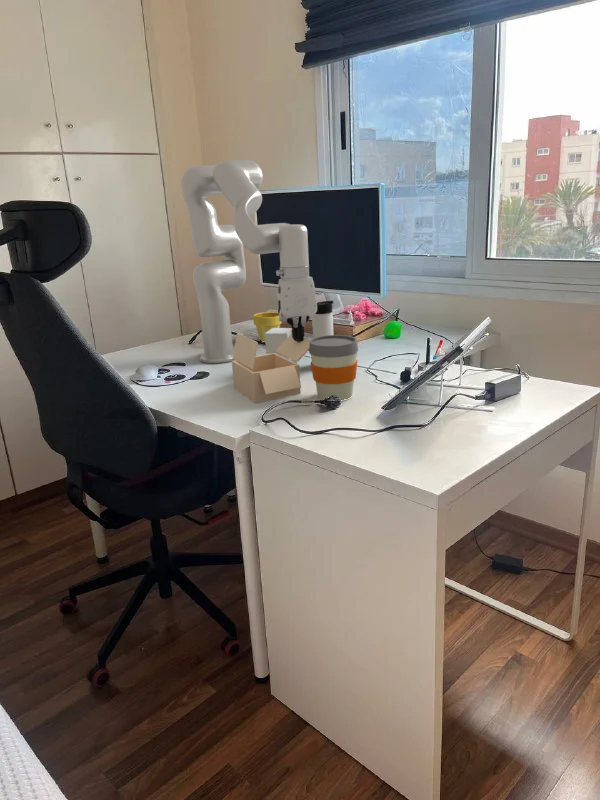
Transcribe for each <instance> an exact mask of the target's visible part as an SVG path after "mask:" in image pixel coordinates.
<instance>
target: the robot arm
mask: <svg viewBox="0 0 600 800" xmlns="http://www.w3.org/2000/svg"><path fill="white" fill-rule="evenodd" d="M263 179H264V176H263V171H262V169H261V167H260V166H259V164H258V163H256V162H255V161H253V160H251V159H243V160H242V159H230V160H229V159H227V160H224V161H221V162H218V163H217V164H214V165H212V164H211V165H210V164H209V165H208V164H207V165H204V164H203V165H194V166H191V167H189V168H187V169H186V170H185V171H184V172H183V173H182V177H181V180H180V181H181V183H180V187H181V188H180V189H181V194H182V197H183V201H184V203H185V206H186V208H187V212H188V216H189V226H190V232H191V239H192V245H193V250H194V252H195V255H196V256H198V257H200V258H215V257H223V258H224V259H221V260H212V261H206V262H202V263H199V264H198V265H197V266H195V267H194V268H193V272H192V281H193V285H194V288H195V293H196V295H197V300H198V301H197V302H198V307H199V315H200V323H201V334H202V342H203V343H202V344H203V354H201V355H200V356H199V358H200V359H199V360H200V362H202V363H205V364H223V363H229V362H232V361H233V360H236V359H234V358H233V355H234V346H233V335H232V324H231V314H230V304H229V302H228V300H227V299H226V298H225V296H224V295H223V293H222V292H224V291H228V290H230V291H231V290H234V289H239V288H242V287H243V286H244V285H245V284H246V280H247V267H246V259H245V252H244V250H245V249H244V247H245V248H246V249H247V250H248V251H249V252H250V253H252V254H254V255H266V254H273V253H274V254H275V253H279V262H280V267H279V269H278V270H276V271H275V273H276V274H275V275H276V276H278V277H280V279H278V285H277V293H276V295H277V298H276V299H277V302H276V304H277V313H278V314H279V321H281V322H282V323H287V324H288V325H289V326H290V327H291V328H292V338H293V340H295V341H297V342H300V341H303V340H304V339H303V338H305V326H306V324H307V322H308V321H309V320H310V319H311V320H312V318H313V317H315V316H316V314H315V313H316V312H317V303H318V302H317V294H316V288H315V287H316V286H315V281H314V280H313V276H310V264H309V260H310V259H309V242H308V239H309V238H308V229H307V228H308V227H307V226H306V225H304V224H298V223H297V224H291V223H287V222H279V223H278V222H277V223H265V224H256V223H255V222H254V221H253V220H252V218H251V216H252V215H254V214H255V213H256V212H257V211H258V210H259V208H261V205H262V202H263V196H262V193H261V192H260V190H259V189H260V188H261V186H262V184H263V182H264V181H263ZM222 195H223V196H224V197H225V198H226V200H227V201H228V202H229V204H230V206H232V208H233V209H234V214H233V224H219V221H218V215H217V209H216V208H215V206H214V205H213V203H212V201H211V200H210V199H209V198H208V196H222Z"/></svg>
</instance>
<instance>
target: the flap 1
mask: <svg viewBox="0 0 600 800" xmlns="http://www.w3.org/2000/svg"><path fill="white" fill-rule="evenodd" d="M258 344H259V342H258V341H256V340H254V339H252V338H250V337H248V336H245V335H244V334H242V333H239V332H236V338H235V342H234V348H233V351H234V355H233V358H234V359H235V360H237V361H239V362H241V363H243V364H244V365H246V366H248V367H249V368H251V369H254V363H255V357H256V356H257V350H258Z"/></svg>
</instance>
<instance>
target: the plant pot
mask: <svg viewBox="0 0 600 800" xmlns="http://www.w3.org/2000/svg"><path fill="white" fill-rule="evenodd" d="M252 316H253V319H252V320H253V325H254V326H255V328H256V331H257V335H258V340H259V341H260V340H261V341H265V334H264V333H266V332H267V331H269V330H271V329H272V328H281V324H282V323H283V322H281V321H279V314H278V311H277V312H276V311H265V312H259V313H255V314H253V315H252Z"/></svg>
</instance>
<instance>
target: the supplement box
mask: <svg viewBox="0 0 600 800" xmlns="http://www.w3.org/2000/svg"><path fill="white" fill-rule="evenodd" d="M264 334H265V354H273V353H276V354H278V355H280V356H282V357H284V358H286V359H288V360H290V361H292V362H294V363H296V364H298V362H297V361H295V360H293V359H291V358H289V357H287V356H285V355H282V354H280V353H278V352H276V351H275V350H276V349H277V348H278V347H279V346H280V345H281V344H282V343H283V342H284V341H285V340H286V339H287V338H288V337H289V336H290V335H291V334H292V327H280V328H272V329H271V330H269V331H267V332H266V333H264Z"/></svg>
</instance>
